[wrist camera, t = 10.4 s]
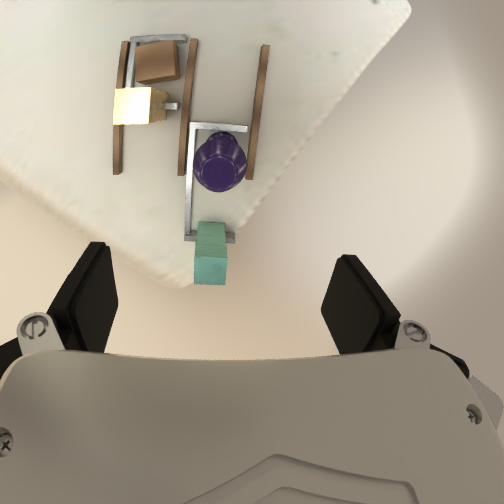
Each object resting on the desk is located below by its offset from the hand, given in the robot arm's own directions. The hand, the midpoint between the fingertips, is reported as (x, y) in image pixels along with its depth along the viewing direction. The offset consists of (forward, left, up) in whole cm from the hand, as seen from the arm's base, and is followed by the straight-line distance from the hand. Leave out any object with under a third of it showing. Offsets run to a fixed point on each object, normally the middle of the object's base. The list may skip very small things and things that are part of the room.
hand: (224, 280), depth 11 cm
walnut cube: (-12, -8, -28) cm, 32 cm away
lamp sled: (+3, 0, -28) cm, 28 cm away
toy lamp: (-2, 0, -28) cm, 28 cm away
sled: (-11, -9, -28) cm, 31 cm away
